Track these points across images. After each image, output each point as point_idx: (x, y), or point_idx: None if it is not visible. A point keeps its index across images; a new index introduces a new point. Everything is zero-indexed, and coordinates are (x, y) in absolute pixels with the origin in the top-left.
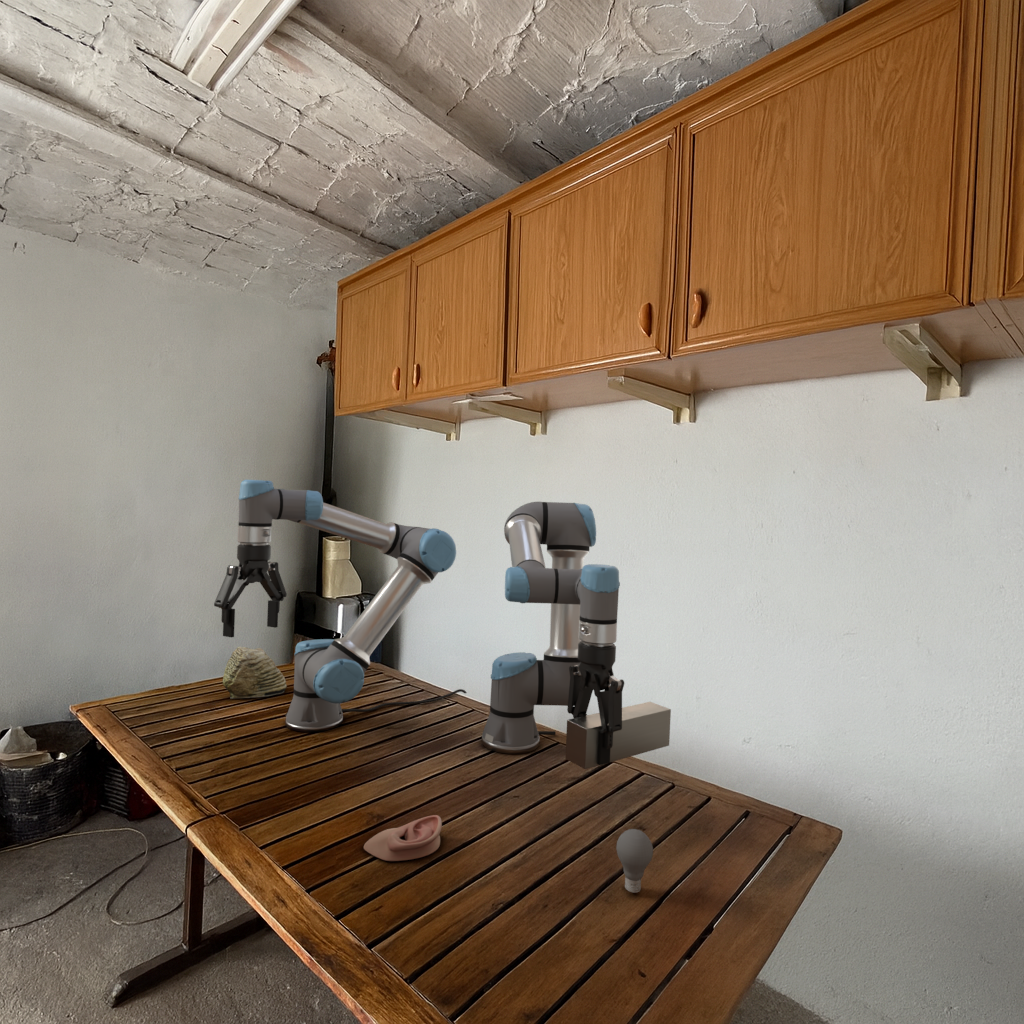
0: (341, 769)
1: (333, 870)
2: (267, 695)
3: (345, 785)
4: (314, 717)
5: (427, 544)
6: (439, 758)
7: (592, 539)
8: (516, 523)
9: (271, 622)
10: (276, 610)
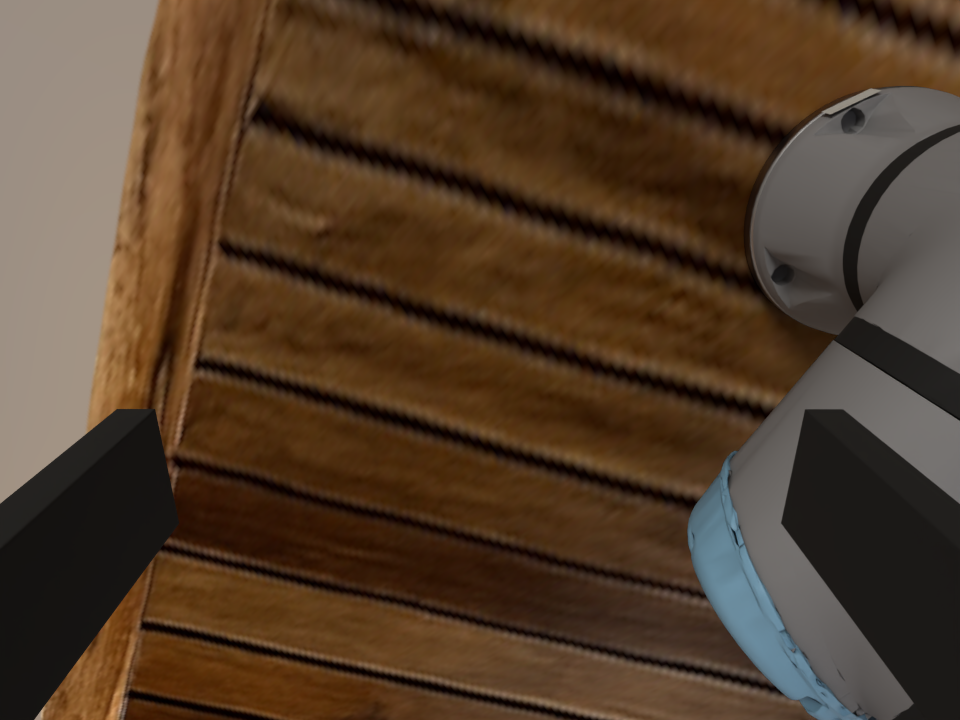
0: (534, 541)
1: None
2: None
3: (459, 600)
4: (798, 293)
5: None
6: (714, 694)
7: None
8: None
9: (822, 500)
10: (919, 699)
